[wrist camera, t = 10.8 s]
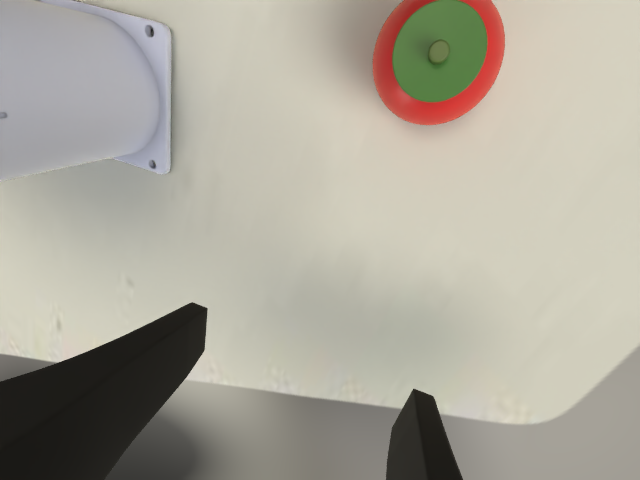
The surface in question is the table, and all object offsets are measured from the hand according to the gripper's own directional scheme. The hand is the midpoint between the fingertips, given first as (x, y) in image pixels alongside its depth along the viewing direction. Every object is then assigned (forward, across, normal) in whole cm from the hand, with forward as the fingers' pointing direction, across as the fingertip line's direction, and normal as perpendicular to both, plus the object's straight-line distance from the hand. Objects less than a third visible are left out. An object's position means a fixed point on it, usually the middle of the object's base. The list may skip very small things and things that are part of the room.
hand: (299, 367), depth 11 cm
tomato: (+9, -1, -10) cm, 14 cm away
